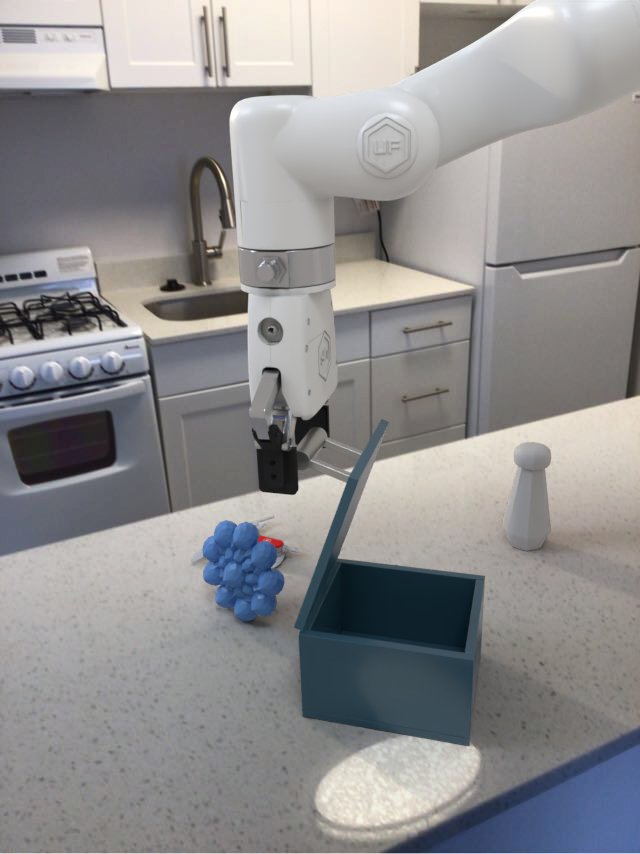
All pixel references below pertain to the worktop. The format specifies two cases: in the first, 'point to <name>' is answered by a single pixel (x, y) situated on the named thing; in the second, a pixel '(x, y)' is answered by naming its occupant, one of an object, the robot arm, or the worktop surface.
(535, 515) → the salt shaker
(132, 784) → the worktop surface
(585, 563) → the worktop surface
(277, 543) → the swiss army knife
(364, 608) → the teal box
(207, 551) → the grapes
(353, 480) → the lid
